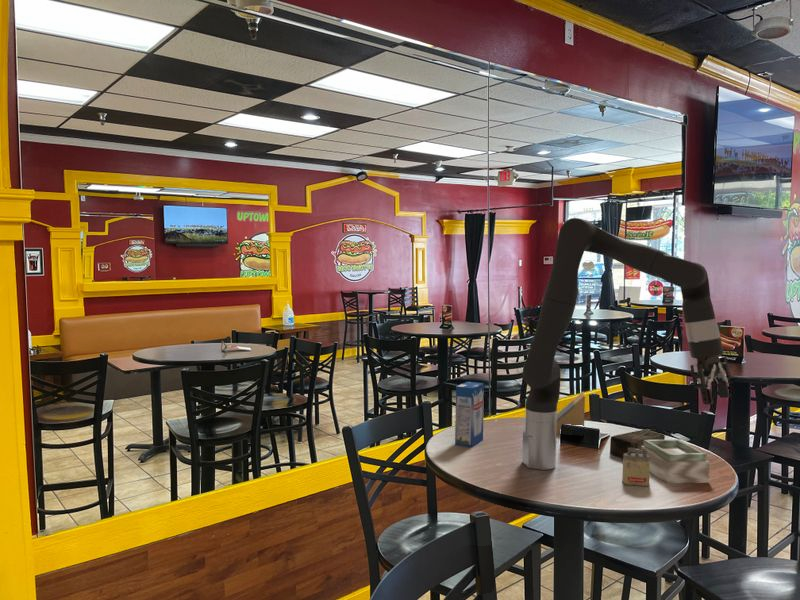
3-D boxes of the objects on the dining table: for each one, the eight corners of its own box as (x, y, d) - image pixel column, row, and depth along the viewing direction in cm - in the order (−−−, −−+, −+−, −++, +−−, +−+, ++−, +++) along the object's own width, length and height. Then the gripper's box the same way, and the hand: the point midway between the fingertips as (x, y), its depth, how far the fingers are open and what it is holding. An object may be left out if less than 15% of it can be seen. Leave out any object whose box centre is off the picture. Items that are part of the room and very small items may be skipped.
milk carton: (472, 447, 187) (472, 388, 186) (455, 444, 191) (455, 386, 190) (483, 440, 196) (484, 383, 195) (466, 437, 199) (467, 381, 198)
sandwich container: (540, 427, 213) (541, 388, 213) (582, 430, 209) (583, 391, 209) (540, 433, 205) (540, 393, 204) (584, 437, 201) (585, 395, 200)
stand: (667, 483, 156) (668, 455, 156) (640, 465, 171) (641, 439, 171) (708, 482, 157) (709, 454, 157) (678, 464, 172) (679, 438, 172)
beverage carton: (665, 452, 185) (666, 432, 185) (630, 462, 175) (630, 441, 174) (643, 445, 192) (644, 426, 192) (608, 455, 181) (608, 435, 181)
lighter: (623, 484, 155) (624, 449, 155) (620, 480, 159) (621, 445, 158) (650, 487, 154) (651, 451, 153) (647, 482, 157) (648, 447, 157)
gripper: (703, 336, 152) (715, 395, 150) (675, 343, 143) (687, 406, 142) (731, 333, 145) (745, 395, 144) (704, 340, 137) (718, 406, 136)
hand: (716, 400), depth 143 cm, fingers open, 8 cm apart
